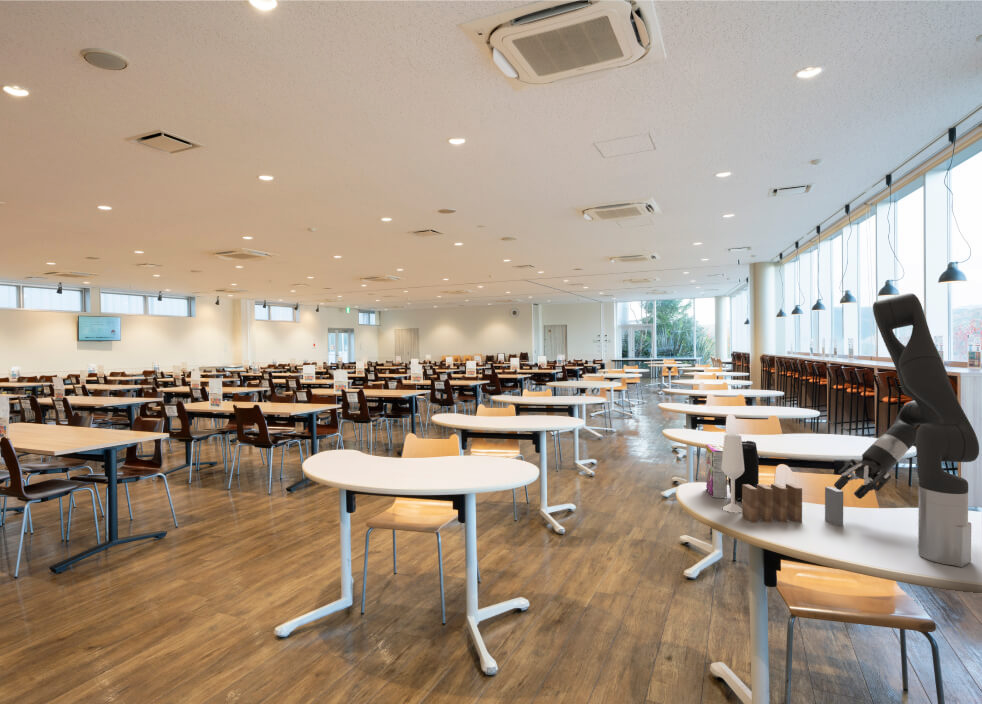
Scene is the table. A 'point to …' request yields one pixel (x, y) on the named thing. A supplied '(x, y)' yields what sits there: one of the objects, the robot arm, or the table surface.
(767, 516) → the walnut domino
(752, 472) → the portable speaker
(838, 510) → the grey domino
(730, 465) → the champagne flute
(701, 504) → the table surface
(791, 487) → the walnut domino
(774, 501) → the walnut domino
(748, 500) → the walnut domino
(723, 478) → the candy bar box
